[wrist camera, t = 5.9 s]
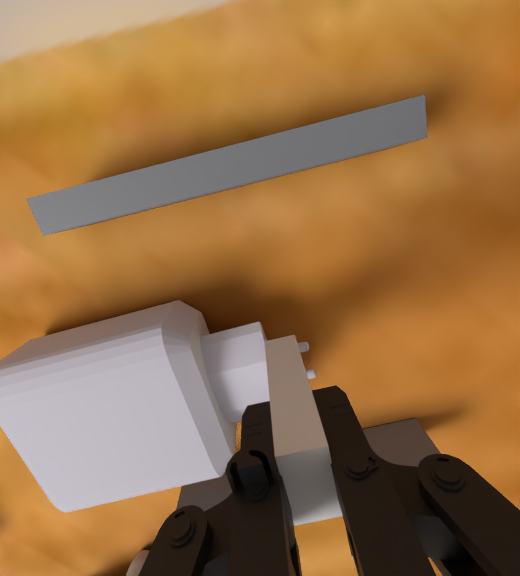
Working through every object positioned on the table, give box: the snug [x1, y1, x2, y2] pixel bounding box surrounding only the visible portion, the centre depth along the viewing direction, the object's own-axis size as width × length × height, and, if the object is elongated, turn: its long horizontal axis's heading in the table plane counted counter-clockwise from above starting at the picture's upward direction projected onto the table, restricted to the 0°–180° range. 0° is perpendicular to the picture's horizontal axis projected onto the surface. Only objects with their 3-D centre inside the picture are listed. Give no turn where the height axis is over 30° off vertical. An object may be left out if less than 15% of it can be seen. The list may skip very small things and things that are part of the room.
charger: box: [0, 300, 316, 513], centre depth 17 cm, size 5×9×15 cm
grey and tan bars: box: [26, 95, 441, 511], centre depth 17 cm, size 34×22×4 cm, turn 104°
